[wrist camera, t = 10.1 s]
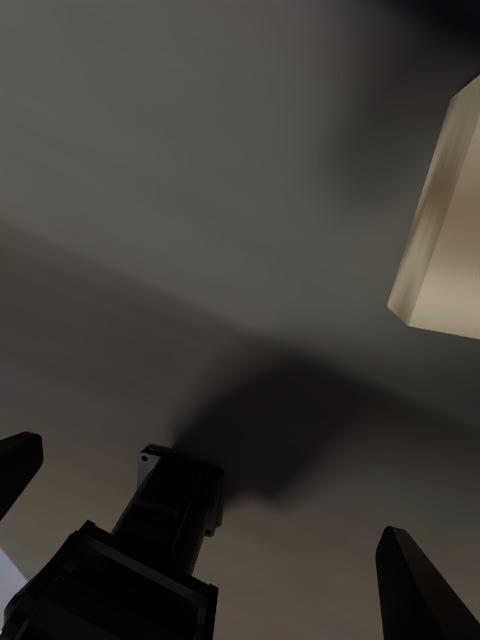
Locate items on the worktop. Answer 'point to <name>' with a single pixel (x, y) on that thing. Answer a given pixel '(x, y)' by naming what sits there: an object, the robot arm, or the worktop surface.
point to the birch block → (446, 231)
